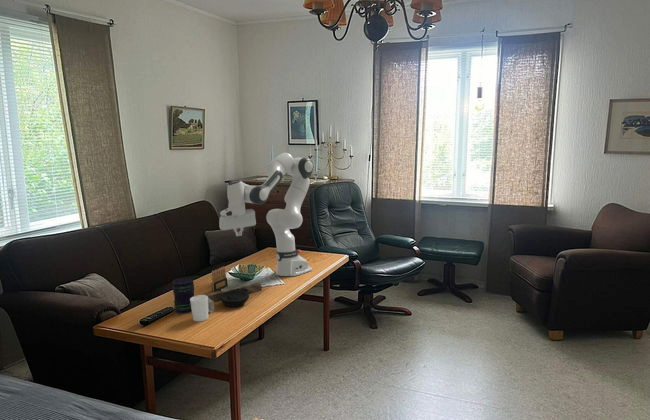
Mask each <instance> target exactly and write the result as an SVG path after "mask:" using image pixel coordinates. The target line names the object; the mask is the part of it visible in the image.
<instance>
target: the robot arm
mask: <svg viewBox="0 0 650 420" xmlns="http://www.w3.org/2000/svg"><path fill="white" fill-rule="evenodd" d="M313 171H314V162H313V161H312V159H310V158H307V157H295V158H294V157H293V156H292V154H290V153H288V152H282V153H280V154H278V155H277V156H276V157H274V158H273V159H272V160H270V162H269V163H268V164H267V165H266V167H265V174H266V176H267V179H266V180H265V181H264V183H263V184H261V185H252V184H251V185H249V184H246V183H245V182H243V181H242V180H232V181H230V182H229V183H228V184H227V189H226V191H227V201H228V205H227V206H228V207H227V208H225V209H223V210H221V211H220V212H219V215H220V217H219V220H218V223H219V229H220V230H221V231H228V230H233V232H234V233H235V236H236V237H240V236H243V232H244V228H247V227H253V226H254V227H255V226H256V224H257V221H256V220H257V219H256V211H255V210H254V209H253V208H250V209H248V208H247V209H246V203H248V204H255V205H264V204H266V202H267V200H268V199H269V197H270V195H271V193H272V192H273V191H274V190H275V188H276V187H278V185H279V184H280V183H281V181H283V177H284V176H285V175H286V176H290V177H291V176H292V177H293V178H292V182H291V183H290V186H289V187H288V189H287V191H286V194H285V195H284V198H283V199H284V202H285V203H286V205H285V207H284V208H273V209H270V210H269V211H268V212H267V213H266V217H265V218H266V219H265V220H266V222H267V224H269V226H270V227H271V229H272V231H273V233H274V237H275V242H276V252H275V255H276V256H275V257H276V271H275V275H277V276H280V277H297V276H299V275H302V274H303V275H304V274H306V273H309V272H312V271H313V267H311V266H310V265H309V264H308V263H309V262H308V261H307V259H306V258H304V257H302V256H301V255H299V254H301V253H302V250H301V249H296V242H295V239H296V238H295V236H294V234H293V233H292V232H291V230H293V229H298V228H300V227H301V225H302V223H303V221H304V219H303V216H302V214H301V207H302V205H303V202H304V200H305V198H306V195H307V193H308V191H309V187H310V184H311V181H310V177H311V176H312V174H313ZM238 229H240V230H239V231H238ZM290 229H291V230H290Z"/></svg>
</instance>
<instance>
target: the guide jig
mask: <svg viewBox="0 0 650 420" xmlns="http://www.w3.org/2000/svg"><path fill="white" fill-rule="evenodd" d="M237 288H245V289H248V291H247V292H246V293H247V294H248V295H249V294H252V293H255V292H256V293H257V292H259V291H262V289H263V288H262V282H259V281H258V282H253V283H250V284H246V285H242V286H238V287H234V288H229V289H225V290H224V289H223V290H219V291H216V292H211V293H208V294H205V295H206V296H208V313H210V314H211V313H215V304H214V303H216V302H219V301H220V299H219V295H221V294H222V293H225V292H228V291H232V290H237ZM220 302H221V301H220Z"/></svg>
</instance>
